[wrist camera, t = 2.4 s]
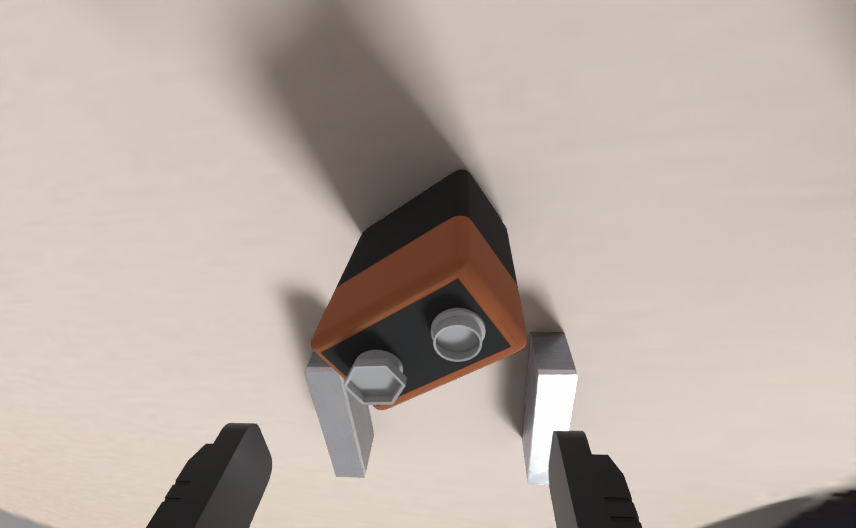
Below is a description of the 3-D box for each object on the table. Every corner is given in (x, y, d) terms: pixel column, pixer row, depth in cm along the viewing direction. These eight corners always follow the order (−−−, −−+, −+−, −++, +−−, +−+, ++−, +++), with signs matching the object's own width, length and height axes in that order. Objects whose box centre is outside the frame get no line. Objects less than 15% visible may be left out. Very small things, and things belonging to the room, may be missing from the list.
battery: (358, 231, 22) (292, 365, 14) (464, 162, 20) (463, 273, 11) (407, 287, 24) (374, 438, 15) (509, 230, 22) (538, 371, 13)
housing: (322, 332, 26) (304, 372, 23) (564, 333, 25) (577, 375, 22) (348, 433, 31) (336, 476, 28) (550, 439, 30) (559, 485, 27)
